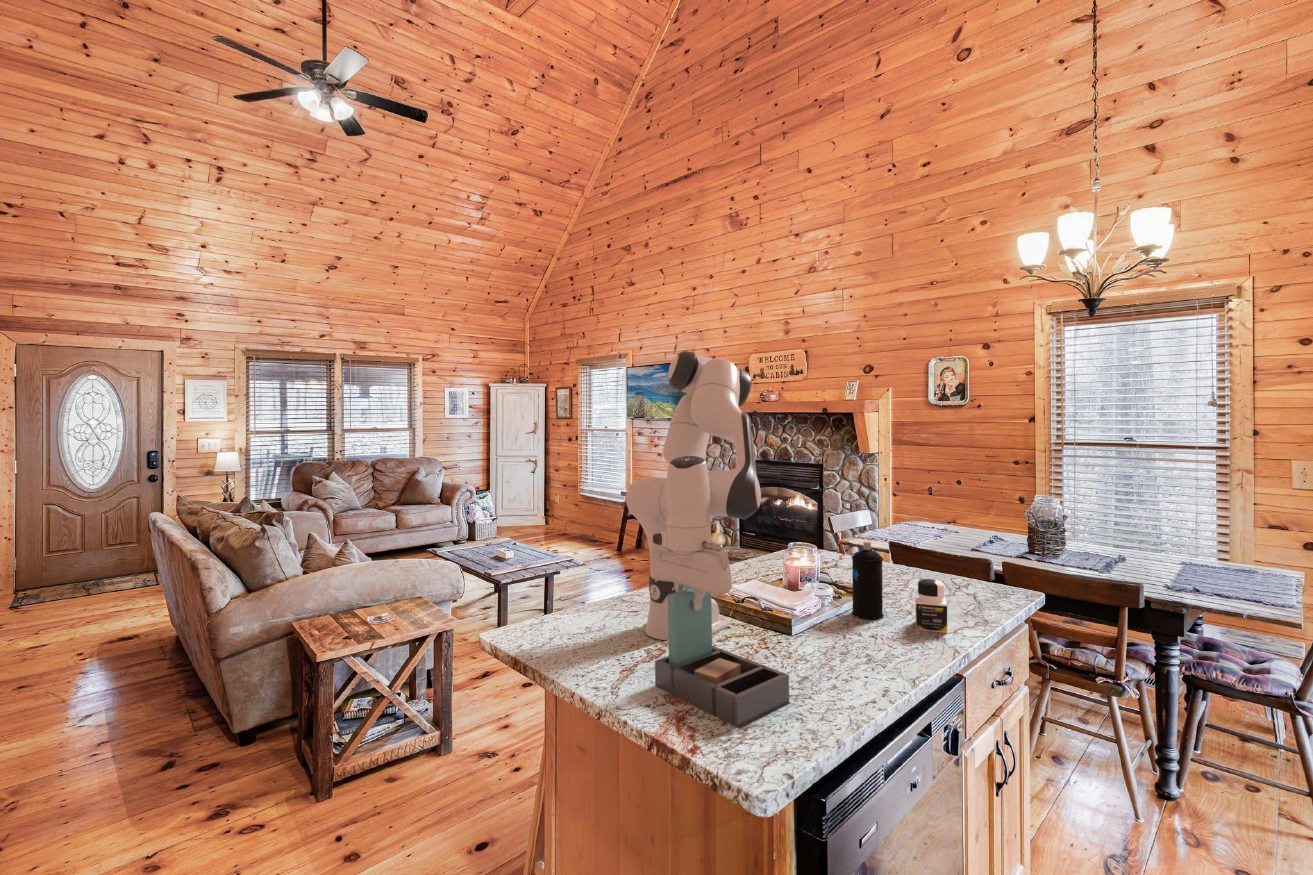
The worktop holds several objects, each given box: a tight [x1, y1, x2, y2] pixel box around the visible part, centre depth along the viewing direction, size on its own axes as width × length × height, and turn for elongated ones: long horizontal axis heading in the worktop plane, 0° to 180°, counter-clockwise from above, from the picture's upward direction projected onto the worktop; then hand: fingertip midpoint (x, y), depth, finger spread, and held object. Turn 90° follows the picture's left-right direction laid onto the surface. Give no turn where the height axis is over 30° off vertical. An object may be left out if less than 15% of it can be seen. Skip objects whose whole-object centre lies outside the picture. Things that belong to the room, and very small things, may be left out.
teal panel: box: [668, 588, 713, 666], centre depth 120 cm, size 10×2×16 cm, turn 130°
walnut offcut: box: [694, 658, 741, 685], centre depth 113 cm, size 8×5×2 cm, turn 138°
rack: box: [654, 645, 792, 730], centre depth 113 cm, size 14×22×6 cm, turn 40°
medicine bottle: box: [914, 578, 948, 634], centre depth 153 cm, size 7×7×12 cm
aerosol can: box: [851, 541, 885, 621], centre depth 163 cm, size 8×8×20 cm
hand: (690, 607), depth 120 cm, fingers closed on teal panel, 2 cm apart
